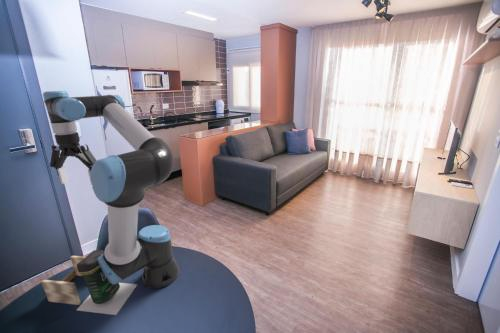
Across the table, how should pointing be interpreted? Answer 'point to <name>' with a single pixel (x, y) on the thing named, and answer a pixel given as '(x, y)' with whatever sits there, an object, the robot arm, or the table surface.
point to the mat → (112, 304)
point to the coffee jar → (96, 278)
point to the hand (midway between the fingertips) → (79, 183)
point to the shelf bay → (64, 286)
